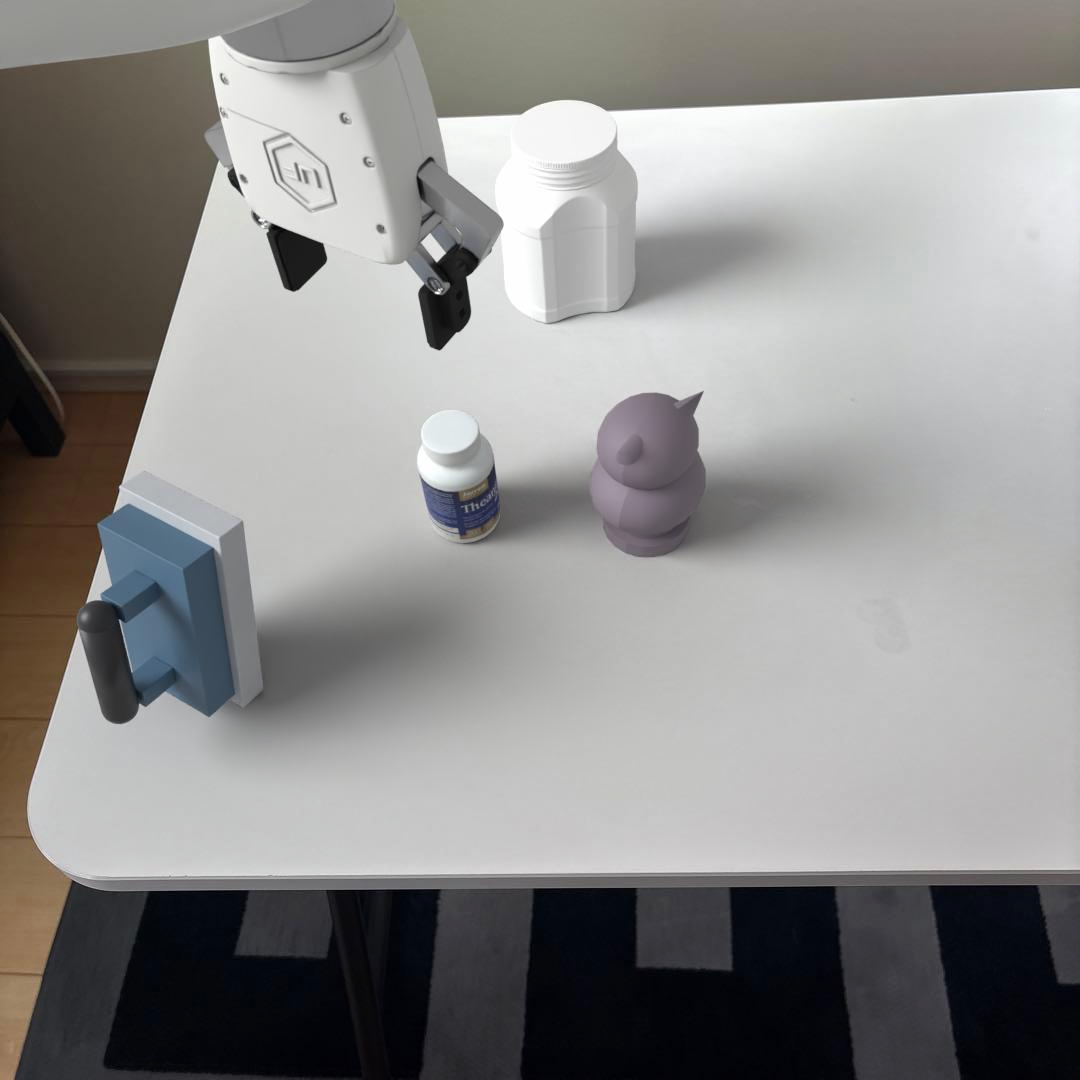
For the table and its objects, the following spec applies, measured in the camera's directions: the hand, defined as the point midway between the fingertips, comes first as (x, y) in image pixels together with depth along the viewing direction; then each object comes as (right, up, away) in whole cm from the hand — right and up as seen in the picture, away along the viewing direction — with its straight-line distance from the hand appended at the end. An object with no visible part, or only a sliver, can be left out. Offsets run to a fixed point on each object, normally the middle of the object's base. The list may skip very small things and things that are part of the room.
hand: (376, 303), depth 58 cm
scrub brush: (-13, -16, +10) cm, 23 cm away
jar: (+12, +10, +36) cm, 39 cm away
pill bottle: (+3, -11, +22) cm, 25 cm away
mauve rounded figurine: (+17, -12, +21) cm, 29 cm away
